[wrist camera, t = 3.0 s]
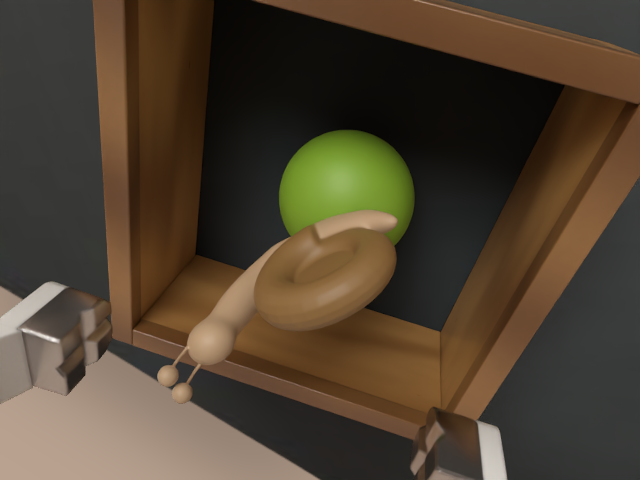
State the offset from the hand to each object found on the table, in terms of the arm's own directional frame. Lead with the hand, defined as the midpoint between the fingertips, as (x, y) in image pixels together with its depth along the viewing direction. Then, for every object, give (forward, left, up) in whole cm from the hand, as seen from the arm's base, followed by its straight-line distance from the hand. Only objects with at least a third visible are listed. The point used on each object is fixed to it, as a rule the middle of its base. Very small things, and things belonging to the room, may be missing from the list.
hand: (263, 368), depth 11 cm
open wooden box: (0, 0, -12) cm, 12 cm away
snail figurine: (0, 0, -12) cm, 12 cm away
